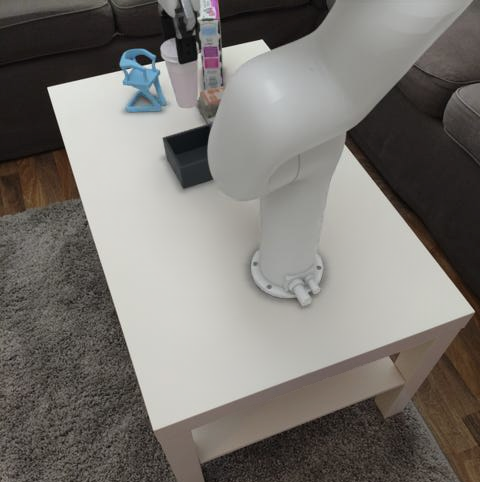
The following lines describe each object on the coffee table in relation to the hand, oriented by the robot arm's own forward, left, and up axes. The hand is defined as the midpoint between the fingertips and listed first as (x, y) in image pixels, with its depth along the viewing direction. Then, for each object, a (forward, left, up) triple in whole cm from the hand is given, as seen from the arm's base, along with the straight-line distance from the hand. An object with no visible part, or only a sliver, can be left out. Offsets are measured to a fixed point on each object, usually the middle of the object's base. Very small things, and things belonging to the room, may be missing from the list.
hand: (180, 50), depth 72 cm
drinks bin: (+1, -1, -24) cm, 24 cm away
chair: (+27, +2, -24) cm, 36 cm away
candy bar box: (+29, -16, -24) cm, 41 cm away
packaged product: (+16, -17, -24) cm, 33 cm away
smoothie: (0, 0, -9) cm, 9 cm away
